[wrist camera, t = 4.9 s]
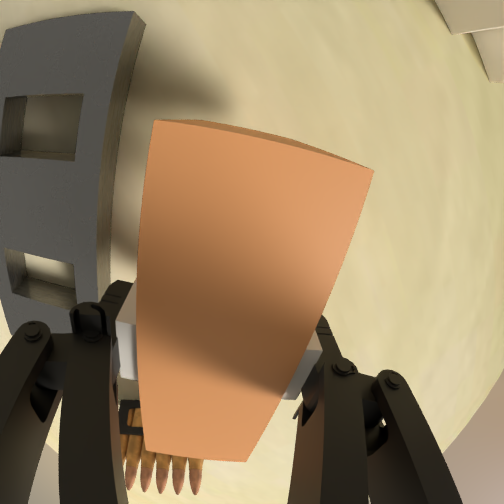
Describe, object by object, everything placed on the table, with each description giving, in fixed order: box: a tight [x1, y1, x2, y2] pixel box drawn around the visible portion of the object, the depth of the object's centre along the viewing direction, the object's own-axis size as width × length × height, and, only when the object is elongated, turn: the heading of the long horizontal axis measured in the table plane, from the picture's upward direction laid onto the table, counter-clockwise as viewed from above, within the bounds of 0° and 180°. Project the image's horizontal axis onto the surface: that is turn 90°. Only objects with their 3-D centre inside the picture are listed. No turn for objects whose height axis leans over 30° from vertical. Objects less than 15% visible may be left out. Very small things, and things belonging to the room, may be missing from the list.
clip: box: [136, 120, 374, 462], centre depth 13 cm, size 14×5×10 cm, turn 167°
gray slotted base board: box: [0, 11, 146, 335], centre depth 18 cm, size 28×12×3 cm, turn 167°
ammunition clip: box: [118, 400, 204, 495], centre depth 25 cm, size 11×2×12 cm, turn 98°
